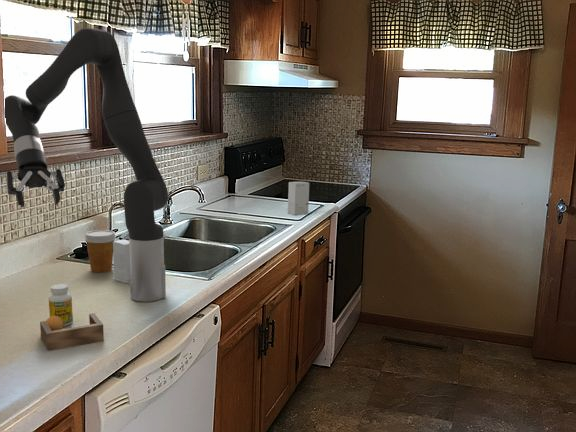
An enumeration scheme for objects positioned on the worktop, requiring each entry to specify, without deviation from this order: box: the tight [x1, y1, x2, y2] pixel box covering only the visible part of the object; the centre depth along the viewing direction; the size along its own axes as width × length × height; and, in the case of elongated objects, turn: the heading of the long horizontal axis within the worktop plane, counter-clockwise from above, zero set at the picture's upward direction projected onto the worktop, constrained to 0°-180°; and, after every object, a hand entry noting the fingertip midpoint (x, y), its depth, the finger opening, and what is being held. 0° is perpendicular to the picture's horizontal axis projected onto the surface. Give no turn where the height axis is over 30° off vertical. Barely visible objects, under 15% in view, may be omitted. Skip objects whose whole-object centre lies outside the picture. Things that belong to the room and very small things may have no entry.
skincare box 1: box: [113, 239, 130, 284], centre depth 191 cm, size 6×4×12 cm
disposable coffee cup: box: [83, 229, 117, 273], centre depth 201 cm, size 10×10×12 cm
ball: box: [45, 316, 63, 331], centre depth 152 cm, size 4×4×4 cm
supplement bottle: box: [48, 283, 74, 328], centre depth 156 cm, size 5×5×10 cm
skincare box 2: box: [287, 181, 310, 216], centre depth 296 cm, size 8×6×15 cm
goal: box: [39, 313, 105, 352], centre depth 148 cm, size 12×8×4 cm, turn 121°
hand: (40, 204), depth 168 cm, fingers open, 8 cm apart
